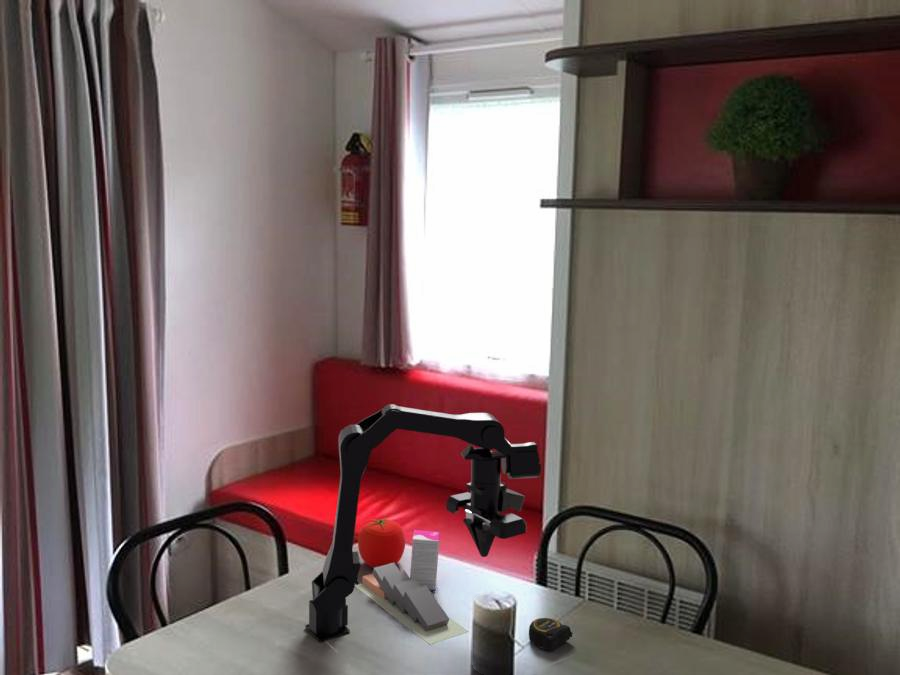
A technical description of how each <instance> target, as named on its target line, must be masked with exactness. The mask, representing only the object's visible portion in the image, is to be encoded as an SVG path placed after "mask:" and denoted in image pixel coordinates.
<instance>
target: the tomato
mask: <svg viewBox="0 0 900 675" xmlns="http://www.w3.org/2000/svg"><path fill="white" fill-rule="evenodd" d="M370 520H372V521H370V522H368V523H366V524H364V525H363V526H362V528H361V529H360V532H359V534H358V539H357V548H358V554H359V556H360V557H361V559H362V560H363V562H364V563H365V564H366V565H367V566H369V567H370V568H373V569H374V568H375V567H379V566H383V565H387V564H391V563H395V565H396V564H398V563H399V562H400V561H401V559H402V558H403V555H404V553H405V549H406V539H405V534H404V532H403V529H402V527H401V525H400V524H399V523H398V522H397V521H395V520H393V519H387V517H385V518H382V519H372V518H370Z"/></svg>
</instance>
